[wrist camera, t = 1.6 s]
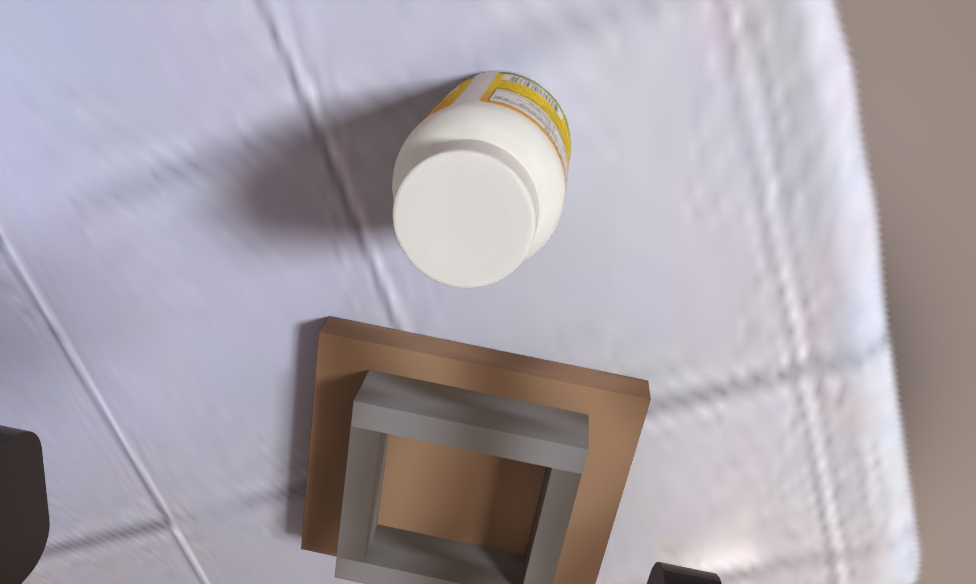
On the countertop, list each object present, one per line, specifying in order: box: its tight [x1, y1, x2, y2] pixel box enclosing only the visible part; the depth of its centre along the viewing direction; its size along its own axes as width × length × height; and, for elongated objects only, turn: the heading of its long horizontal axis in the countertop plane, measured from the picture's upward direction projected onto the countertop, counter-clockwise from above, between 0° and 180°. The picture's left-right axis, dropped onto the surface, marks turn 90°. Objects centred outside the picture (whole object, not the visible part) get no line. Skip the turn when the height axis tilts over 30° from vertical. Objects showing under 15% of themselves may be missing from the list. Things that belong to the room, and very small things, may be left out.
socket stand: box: [301, 316, 651, 584], centre depth 34 cm, size 14×12×4 cm
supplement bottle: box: [392, 71, 571, 288], centre depth 26 cm, size 5×5×10 cm
